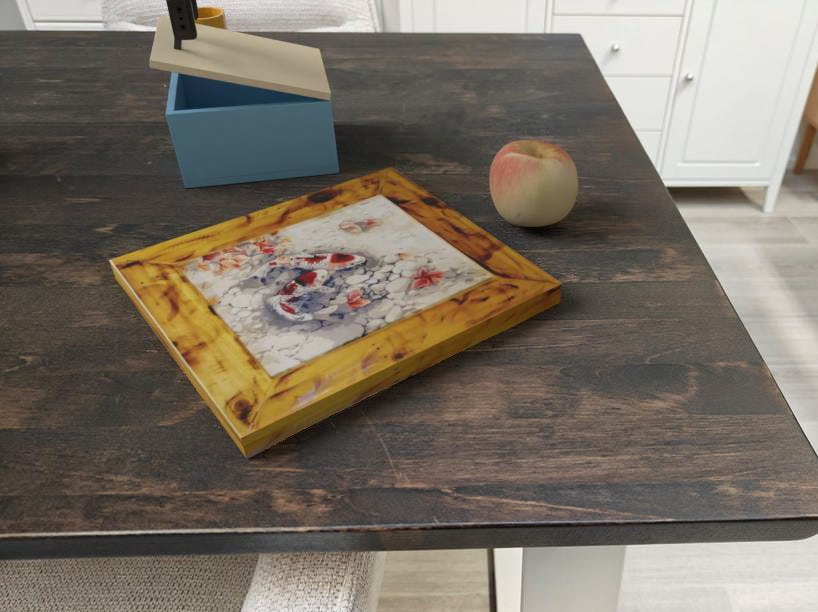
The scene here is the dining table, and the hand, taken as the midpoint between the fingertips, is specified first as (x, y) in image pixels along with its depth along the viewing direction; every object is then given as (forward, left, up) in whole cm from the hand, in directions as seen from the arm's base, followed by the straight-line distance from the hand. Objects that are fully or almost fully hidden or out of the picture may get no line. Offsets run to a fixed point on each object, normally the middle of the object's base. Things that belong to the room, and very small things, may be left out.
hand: (187, 28), depth 76 cm
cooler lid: (+4, +3, -4) cm, 6 cm away
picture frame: (+26, -17, -15) cm, 34 cm away
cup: (-19, +24, -14) cm, 34 cm away
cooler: (+4, +3, -14) cm, 15 cm away
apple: (+38, +2, -15) cm, 41 cm away
